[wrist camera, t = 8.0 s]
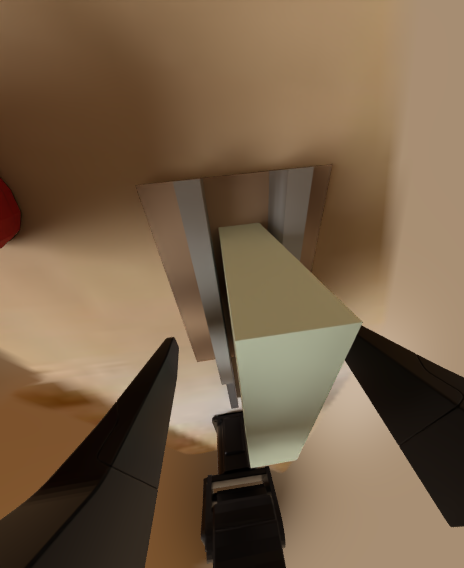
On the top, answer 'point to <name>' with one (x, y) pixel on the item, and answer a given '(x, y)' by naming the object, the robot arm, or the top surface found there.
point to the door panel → (281, 341)
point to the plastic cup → (8, 215)
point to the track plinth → (206, 241)
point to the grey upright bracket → (232, 392)
